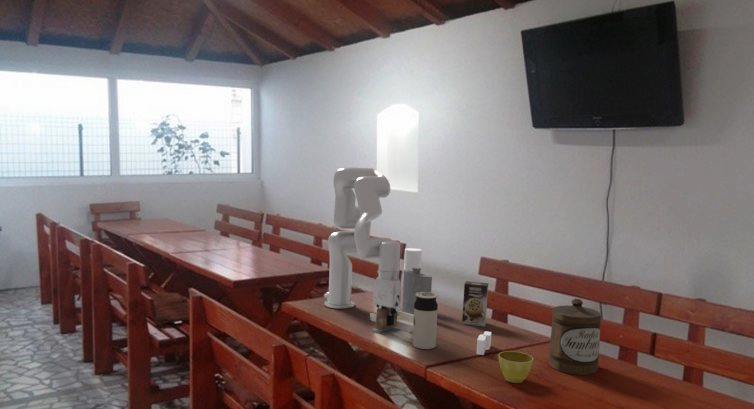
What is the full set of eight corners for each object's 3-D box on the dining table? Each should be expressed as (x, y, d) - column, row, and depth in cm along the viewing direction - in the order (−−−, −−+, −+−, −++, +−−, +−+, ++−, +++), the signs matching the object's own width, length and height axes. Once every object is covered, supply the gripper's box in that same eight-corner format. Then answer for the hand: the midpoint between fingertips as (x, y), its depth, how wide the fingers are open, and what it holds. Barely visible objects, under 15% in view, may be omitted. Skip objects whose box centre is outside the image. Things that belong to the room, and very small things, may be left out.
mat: (371, 332, 227) (371, 331, 227) (389, 327, 234) (389, 326, 234) (382, 335, 223) (383, 334, 223) (401, 330, 230) (401, 329, 230)
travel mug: (437, 344, 216) (440, 293, 214) (433, 351, 208) (435, 298, 207) (415, 341, 218) (417, 290, 216) (410, 348, 210) (412, 295, 209)
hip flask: (431, 319, 247) (433, 270, 246) (423, 321, 245) (426, 271, 243) (406, 310, 260) (408, 263, 258) (398, 312, 258) (400, 264, 256)
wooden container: (565, 376, 189) (570, 305, 187) (539, 360, 203) (544, 294, 201) (607, 373, 193) (612, 303, 191) (579, 358, 207) (583, 292, 205)
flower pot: (526, 374, 189) (528, 351, 189) (536, 386, 179) (537, 362, 178) (493, 373, 189) (495, 350, 188) (501, 386, 179) (502, 361, 178)
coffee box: (461, 324, 242) (463, 283, 241) (463, 320, 249) (465, 280, 247) (485, 326, 240) (487, 285, 239) (486, 322, 247) (488, 282, 245)
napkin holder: (481, 359, 203) (482, 342, 202) (457, 349, 212) (458, 333, 212) (513, 352, 212) (514, 336, 211) (489, 343, 221) (490, 327, 220)
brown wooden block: (375, 328, 227) (376, 309, 226) (390, 324, 232) (391, 305, 232) (381, 330, 225) (382, 310, 224) (396, 326, 230) (397, 307, 230)
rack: (369, 320, 242) (370, 313, 242) (390, 315, 251) (390, 308, 251) (412, 333, 227) (413, 325, 227) (433, 328, 236) (433, 320, 235)
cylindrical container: (400, 308, 263) (403, 250, 261) (404, 304, 270) (407, 247, 268) (416, 310, 261) (419, 251, 259) (420, 306, 268) (423, 249, 266)
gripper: (365, 272, 230) (363, 321, 231) (398, 280, 219) (396, 331, 220) (379, 270, 235) (377, 317, 237) (412, 277, 224) (410, 327, 226)
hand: (386, 323), depth 228 cm, fingers closed on brown wooden block, 3 cm apart
